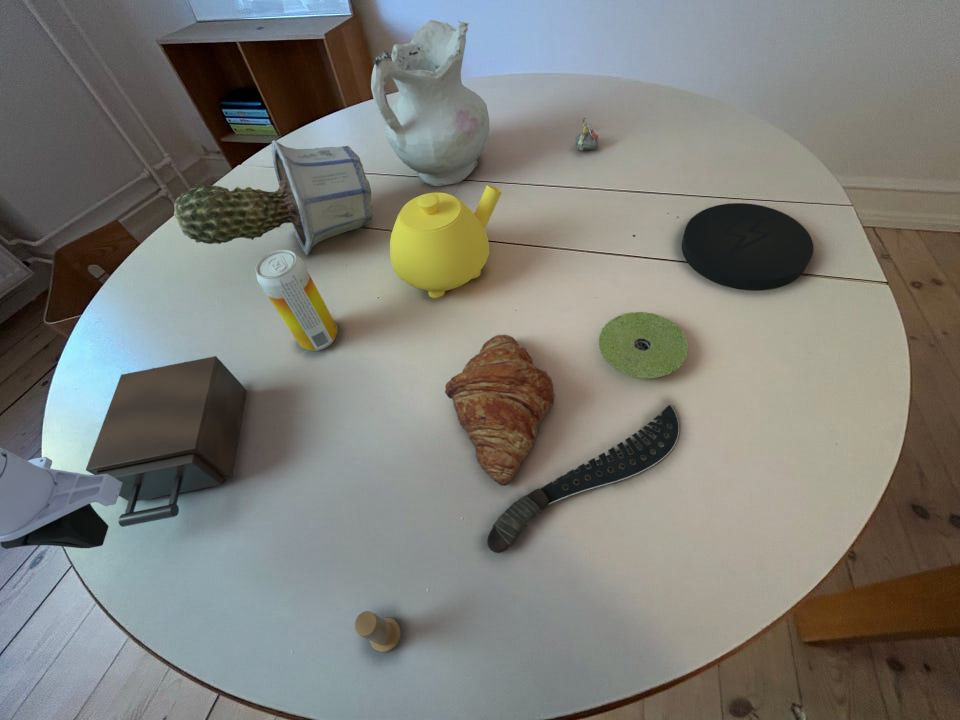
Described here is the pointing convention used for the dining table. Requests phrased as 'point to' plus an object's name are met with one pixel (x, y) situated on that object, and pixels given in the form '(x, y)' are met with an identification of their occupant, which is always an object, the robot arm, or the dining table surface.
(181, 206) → the potted plant
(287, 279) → the yellow two-tone cylinder
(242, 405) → the cabinet
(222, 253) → the dining table surface
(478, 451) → the pastry
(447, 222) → the teapot
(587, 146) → the figurine
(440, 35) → the ceramic pitcher
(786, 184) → the dining table surface
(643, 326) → the green disc
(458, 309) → the dining table surface
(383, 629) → the flanged wooden peg
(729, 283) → the wireless charger
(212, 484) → the drawer
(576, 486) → the knife
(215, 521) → the dining table surface
